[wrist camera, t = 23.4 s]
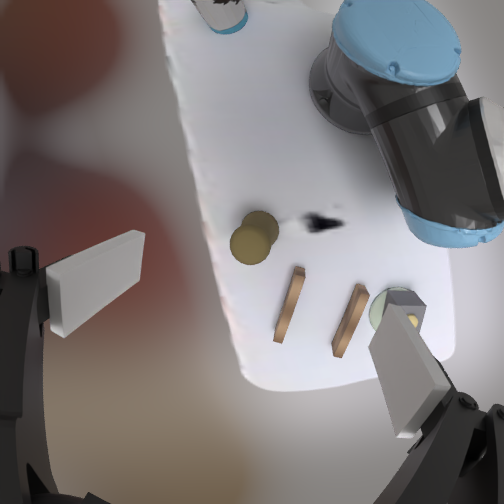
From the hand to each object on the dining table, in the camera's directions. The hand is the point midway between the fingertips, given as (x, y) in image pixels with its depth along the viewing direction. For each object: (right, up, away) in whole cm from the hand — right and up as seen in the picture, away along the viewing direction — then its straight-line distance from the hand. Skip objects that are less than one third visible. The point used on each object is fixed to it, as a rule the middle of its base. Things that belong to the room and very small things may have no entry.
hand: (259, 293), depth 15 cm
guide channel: (+11, -7, +34) cm, 36 cm away
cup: (-4, +41, +23) cm, 47 cm away
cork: (+1, +5, +32) cm, 32 cm away
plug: (+24, -7, +30) cm, 39 cm away
